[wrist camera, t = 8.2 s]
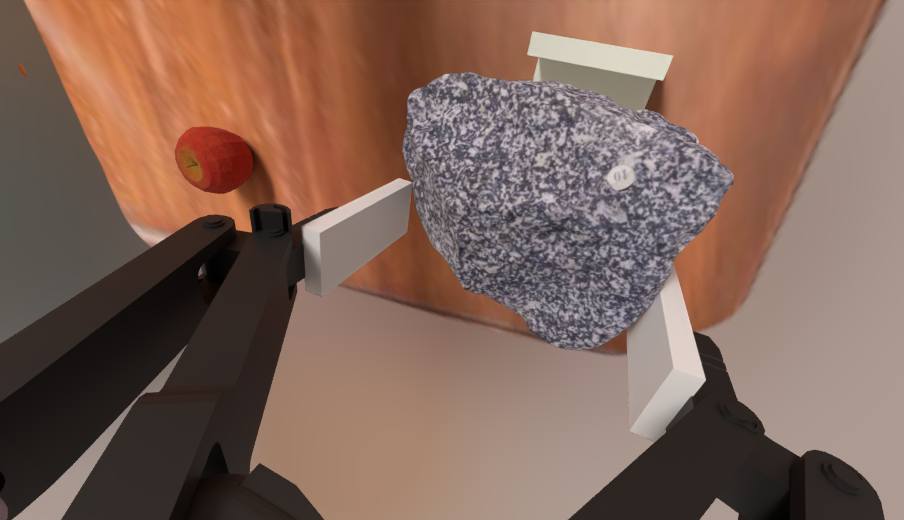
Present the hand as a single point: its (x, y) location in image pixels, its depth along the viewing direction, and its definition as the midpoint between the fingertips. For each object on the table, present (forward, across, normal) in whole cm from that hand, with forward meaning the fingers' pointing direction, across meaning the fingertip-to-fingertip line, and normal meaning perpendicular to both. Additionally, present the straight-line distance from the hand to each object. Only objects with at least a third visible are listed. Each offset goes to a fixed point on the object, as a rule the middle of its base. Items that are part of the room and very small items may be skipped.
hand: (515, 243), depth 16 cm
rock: (+1, 0, +2) cm, 2 cm away
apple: (+20, -40, -10) cm, 46 cm away
